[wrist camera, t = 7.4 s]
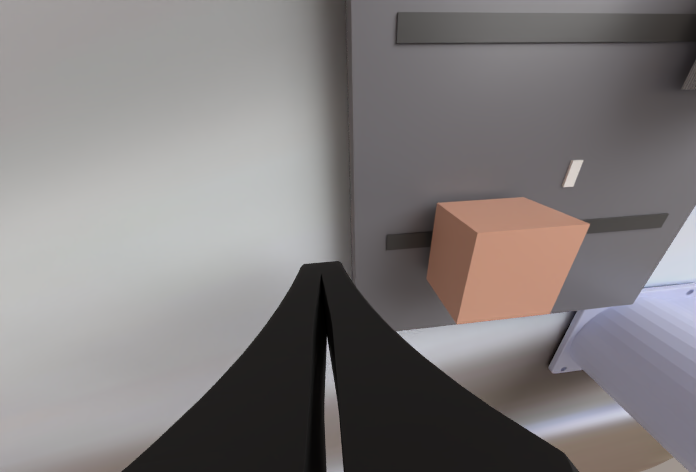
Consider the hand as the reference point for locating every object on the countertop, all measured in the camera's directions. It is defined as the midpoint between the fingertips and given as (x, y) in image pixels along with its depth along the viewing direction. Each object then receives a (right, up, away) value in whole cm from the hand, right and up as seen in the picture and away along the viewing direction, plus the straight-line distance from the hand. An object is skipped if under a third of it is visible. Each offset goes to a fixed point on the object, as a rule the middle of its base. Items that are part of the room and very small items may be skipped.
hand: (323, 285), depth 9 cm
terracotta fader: (+7, +2, +3) cm, 7 cm away
